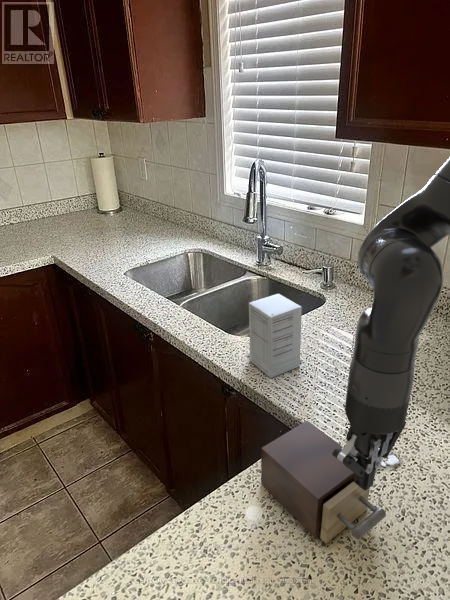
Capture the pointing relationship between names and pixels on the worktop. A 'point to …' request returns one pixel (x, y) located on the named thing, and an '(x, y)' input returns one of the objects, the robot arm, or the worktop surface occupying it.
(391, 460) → the white lumpy pieces
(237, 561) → the worktop surface
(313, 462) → the cabinet
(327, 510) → the drawer
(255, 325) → the supplement box
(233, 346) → the worktop surface
